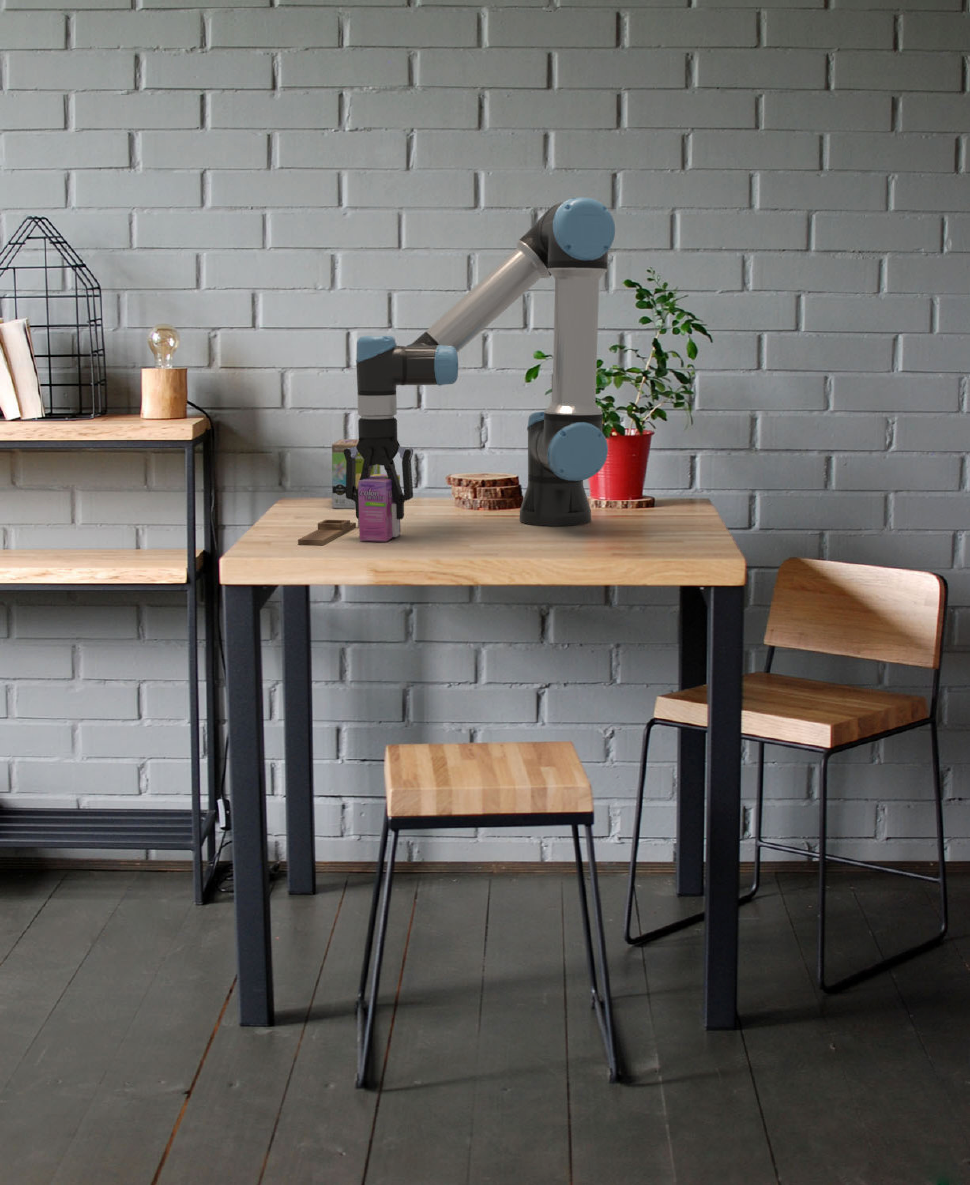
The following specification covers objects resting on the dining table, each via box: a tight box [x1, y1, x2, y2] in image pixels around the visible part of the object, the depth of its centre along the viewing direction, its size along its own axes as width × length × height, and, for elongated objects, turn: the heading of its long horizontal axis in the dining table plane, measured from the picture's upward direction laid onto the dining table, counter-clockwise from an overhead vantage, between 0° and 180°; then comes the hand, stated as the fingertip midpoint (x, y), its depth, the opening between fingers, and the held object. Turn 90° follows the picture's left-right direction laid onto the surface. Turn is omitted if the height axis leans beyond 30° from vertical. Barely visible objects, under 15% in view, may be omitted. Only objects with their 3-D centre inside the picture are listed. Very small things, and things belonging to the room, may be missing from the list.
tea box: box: [331, 438, 381, 509], centre depth 306 cm, size 15×10×15 cm
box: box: [358, 473, 402, 543], centre depth 260 cm, size 10×6×12 cm, turn 168°
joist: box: [297, 519, 357, 546], centre depth 264 cm, size 5×22×2 cm, turn 169°
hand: (380, 535), depth 261 cm, fingers closed on box, 6 cm apart
